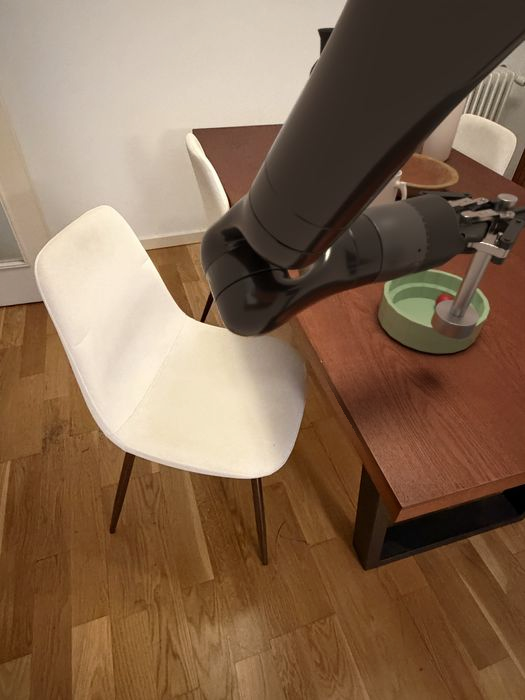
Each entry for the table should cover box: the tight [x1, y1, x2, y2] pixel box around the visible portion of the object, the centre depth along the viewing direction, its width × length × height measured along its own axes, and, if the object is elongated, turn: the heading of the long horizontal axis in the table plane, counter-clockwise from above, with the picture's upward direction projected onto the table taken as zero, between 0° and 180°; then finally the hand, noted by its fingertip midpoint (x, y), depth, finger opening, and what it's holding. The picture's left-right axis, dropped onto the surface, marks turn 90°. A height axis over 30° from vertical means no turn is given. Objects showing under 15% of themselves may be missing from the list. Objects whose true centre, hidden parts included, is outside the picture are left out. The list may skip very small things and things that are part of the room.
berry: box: [435, 294, 453, 306], centre depth 75 cm, size 3×3×3 cm
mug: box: [366, 170, 407, 209], centre depth 99 cm, size 10×7×12 cm, turn 39°
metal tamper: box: [431, 193, 519, 339], centre depth 50 cm, size 6×6×18 cm
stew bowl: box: [377, 269, 491, 355], centre depth 72 cm, size 18×18×6 cm
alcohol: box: [421, 97, 467, 162], centre depth 125 cm, size 9×9×30 cm
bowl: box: [396, 152, 460, 199], centre depth 112 cm, size 24×24×8 cm
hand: (519, 209), depth 46 cm, fingers closed on metal tamper
